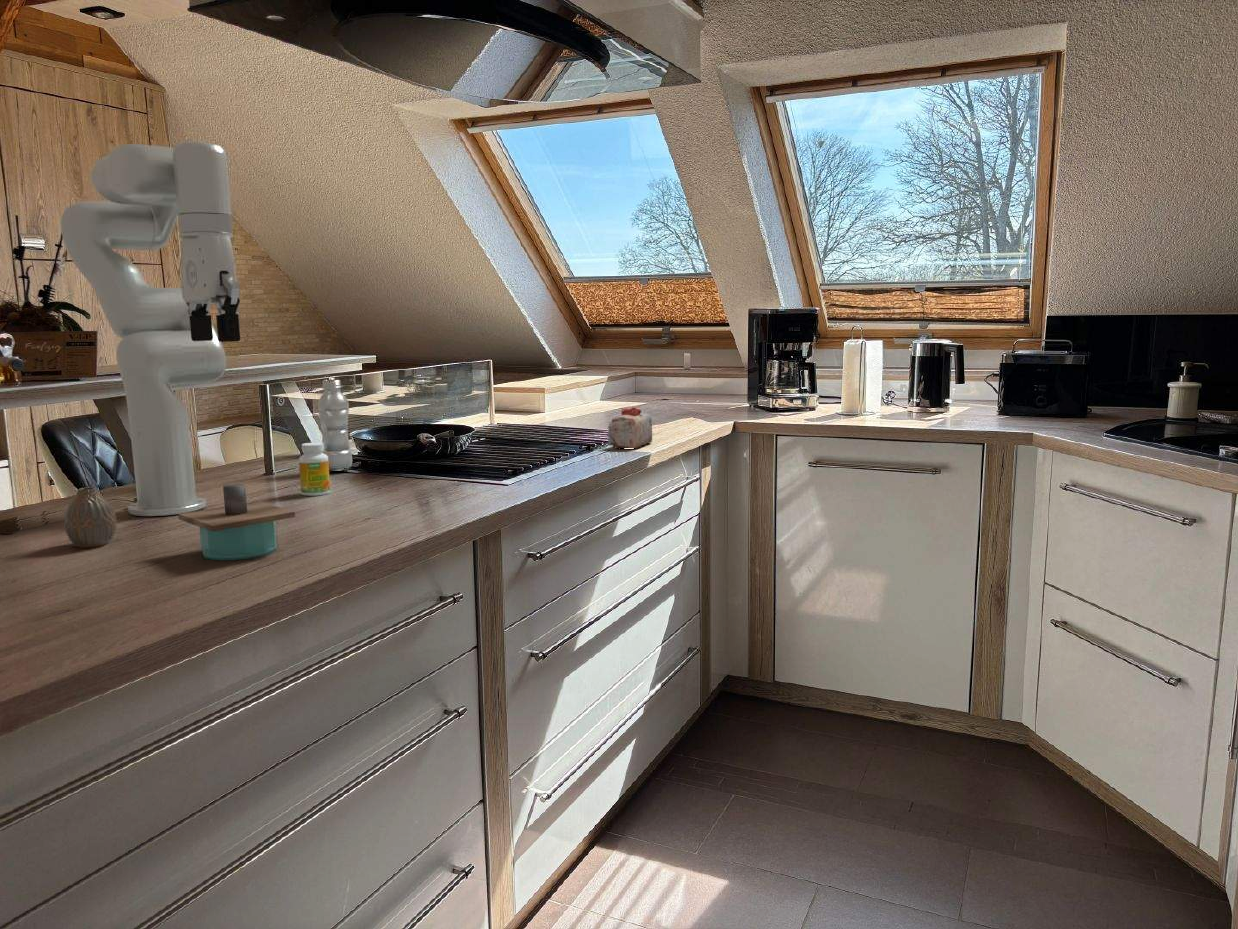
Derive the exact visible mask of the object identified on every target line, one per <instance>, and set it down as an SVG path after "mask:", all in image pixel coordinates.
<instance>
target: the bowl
mask: <svg viewBox="0 0 1238 929" xmlns="http://www.w3.org/2000/svg"><path fill="white" fill-rule="evenodd" d="M199 535H200V548H201V552H202V556H203V557H204V558H205V559H207V560H210V561H211V560H213V561H241V560H248V559H254V558H258V557H262V556H266V555H269V554H271V553H274V552H275V551H276V550H277V528H276V521H270V522H265V523H259V524H254V525H248V526H242V527H237V528H231V529H225V530H220V531H214V532H212V531H210V530H207V529H204V528H201V527H199Z"/></svg>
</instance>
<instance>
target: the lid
mask: <svg viewBox="0 0 1238 929" xmlns="http://www.w3.org/2000/svg"><path fill="white" fill-rule="evenodd" d="M246 488H247V487H246V484H244V483H233V484H226V485H223V487H222V490H223V500H224V501H223V502H224V503H223V505H224V506H220V507H213V508H207V509H202V510H201V509H199V510H196V511H191V512H187V513H181V514H177V515H178V516H177V517H178V520H179V521H182V522H186V523H188V524H191V525H193V526H196V527H198V528H200V527H201V528H204V529H207V530H210V531H212V532H214V531H220V530H225V529H231V528H237V527H242V526H248V525H254V524H259V523H265V522H270V521H275V522H277V521H280V520H287V519H293V518H296V511H293V510H290V509H287V508H282V507H279V506H276V505H272V504H269V503H265V502H261V501H258V500H256V501H250V502H247V490H246Z"/></svg>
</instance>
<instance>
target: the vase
mask: <svg viewBox="0 0 1238 929" xmlns="http://www.w3.org/2000/svg"><path fill="white" fill-rule="evenodd" d="M63 519H64V520H63V522H64V530H65V532H66V535H67V537H68V539H69V540H70V541H71V543H73V544H74V546H77V547H78V548H82V549H83V548H84V549H87V548H97V547H102V546H105V545H108V543H110V541H111V540H112V539H113V538H114V536H115V533H116V531H117V530H116V529H117V516H116V512H115V510H114V507H113V506H112V504H111V503H110V501H108V500H107V499H106V498H105V497H104V496H103V495H102V494H101V493H100V492H99V490H98V489H97V487H93V486H88V487H87V486H86V487H81V488H78V489H77V492H76V493H75V496H74V497H73V499H72V500H71V502H70V503H69V504H68V506H67V508H66V510H65V514H64V518H63Z"/></svg>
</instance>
